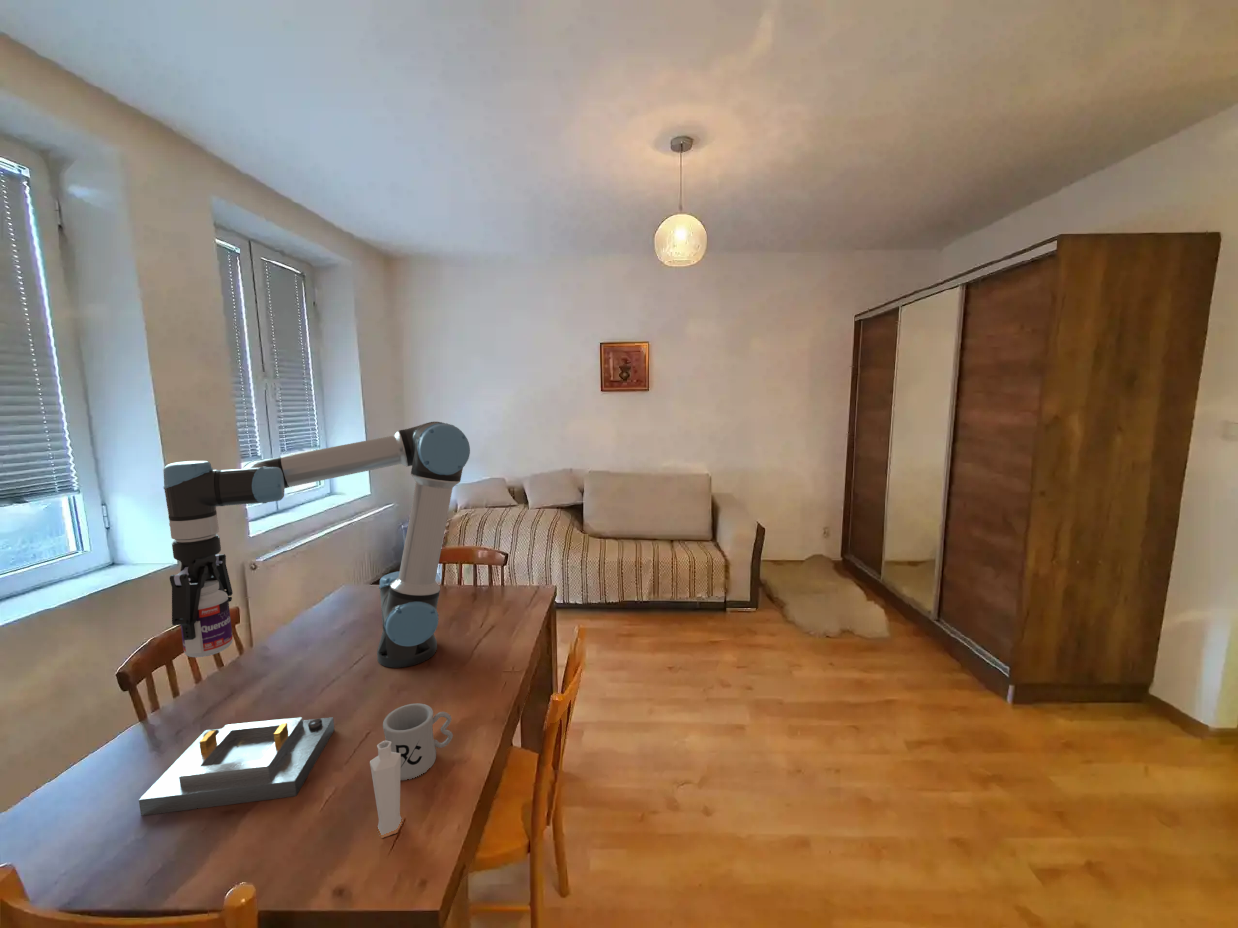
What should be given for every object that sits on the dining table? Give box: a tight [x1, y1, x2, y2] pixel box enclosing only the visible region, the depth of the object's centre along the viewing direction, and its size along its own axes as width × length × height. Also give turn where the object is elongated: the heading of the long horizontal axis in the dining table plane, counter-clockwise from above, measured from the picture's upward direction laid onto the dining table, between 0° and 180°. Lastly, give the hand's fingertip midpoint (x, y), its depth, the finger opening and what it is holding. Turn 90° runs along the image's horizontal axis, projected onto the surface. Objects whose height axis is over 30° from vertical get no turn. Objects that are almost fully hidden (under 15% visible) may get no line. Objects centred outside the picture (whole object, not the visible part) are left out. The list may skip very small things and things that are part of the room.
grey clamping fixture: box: [138, 716, 335, 816], centre depth 96 cm, size 24×18×8 cm
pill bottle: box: [180, 580, 234, 658], centre depth 105 cm, size 8×8×14 cm
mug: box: [382, 703, 454, 781], centre depth 97 cm, size 12×9×10 cm
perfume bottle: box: [369, 739, 403, 835], centre depth 82 cm, size 5×4×15 cm
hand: (208, 641), depth 106 cm, fingers closed on pill bottle, 8 cm apart
